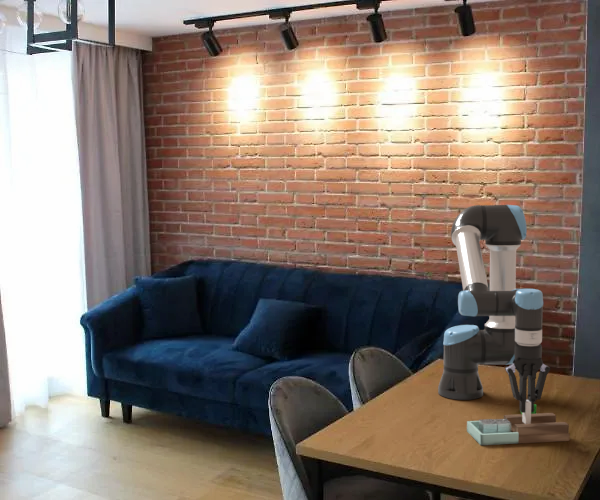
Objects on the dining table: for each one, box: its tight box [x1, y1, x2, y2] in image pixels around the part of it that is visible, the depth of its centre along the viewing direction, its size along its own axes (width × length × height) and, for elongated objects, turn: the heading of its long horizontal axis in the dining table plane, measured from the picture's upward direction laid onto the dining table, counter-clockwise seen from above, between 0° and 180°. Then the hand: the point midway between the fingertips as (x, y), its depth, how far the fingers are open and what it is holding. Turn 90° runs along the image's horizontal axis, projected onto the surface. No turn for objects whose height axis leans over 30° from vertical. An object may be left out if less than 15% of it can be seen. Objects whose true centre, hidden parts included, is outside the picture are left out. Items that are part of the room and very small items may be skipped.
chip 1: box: [478, 418, 497, 434], centre depth 225 cm, size 4×4×4 cm
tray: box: [466, 420, 519, 446], centre depth 225 cm, size 12×11×3 cm
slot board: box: [503, 412, 570, 444], centre depth 226 cm, size 12×15×4 cm
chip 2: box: [492, 418, 511, 433], centre depth 225 cm, size 4×4×4 cm
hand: (526, 422), depth 226 cm, fingers closed
